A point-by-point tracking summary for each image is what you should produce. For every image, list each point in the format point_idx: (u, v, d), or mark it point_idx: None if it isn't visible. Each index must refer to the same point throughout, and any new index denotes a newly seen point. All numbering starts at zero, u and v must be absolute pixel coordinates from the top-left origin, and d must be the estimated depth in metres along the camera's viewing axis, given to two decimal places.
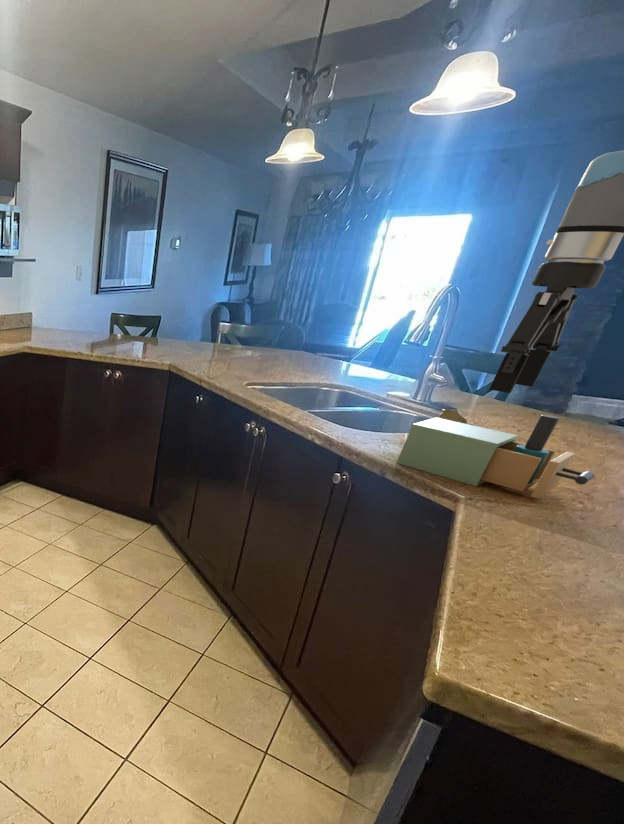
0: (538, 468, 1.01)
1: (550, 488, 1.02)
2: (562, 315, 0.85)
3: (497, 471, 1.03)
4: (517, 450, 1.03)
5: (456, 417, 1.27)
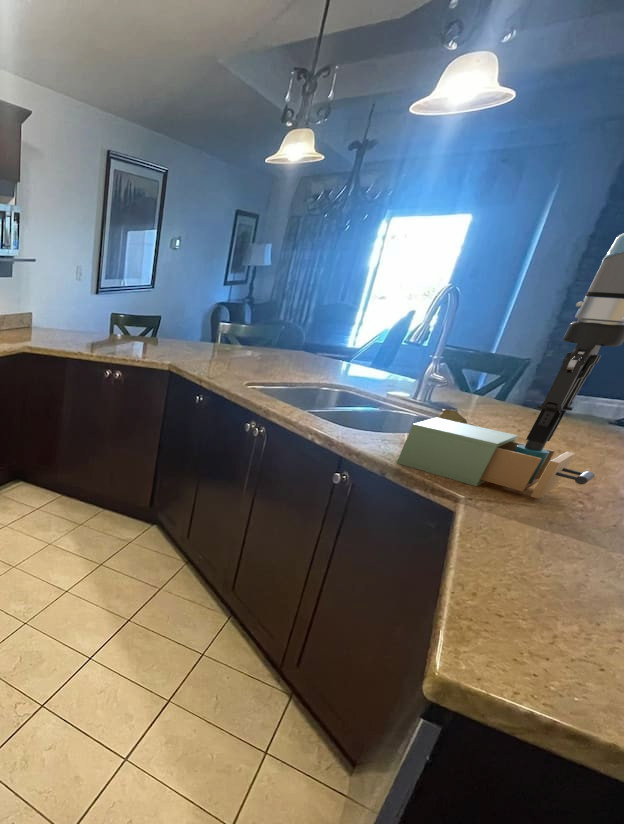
0: (538, 468, 1.01)
1: (550, 488, 1.02)
2: None
3: (497, 471, 1.03)
4: (517, 450, 1.03)
5: (456, 417, 1.27)
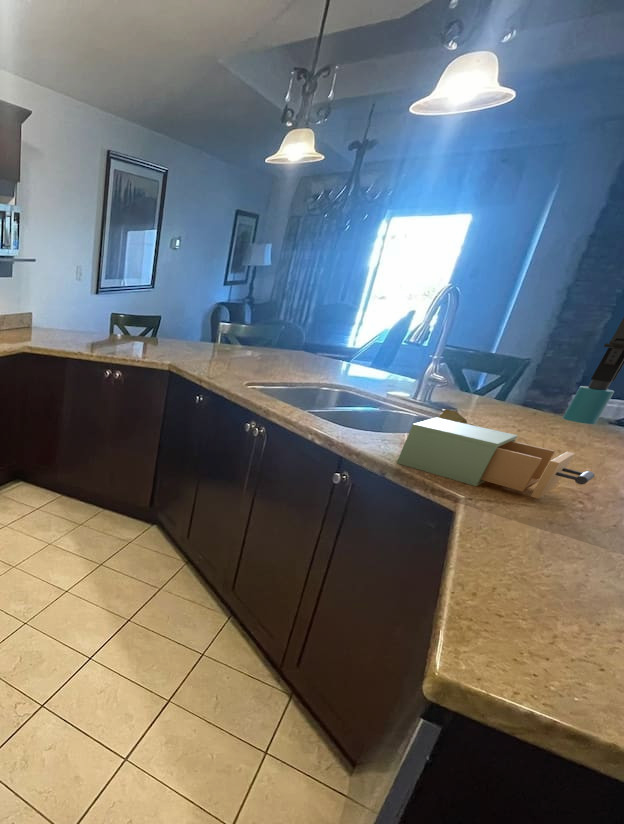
0: (603, 408, 1.02)
1: (550, 488, 1.02)
2: None
3: (497, 471, 1.03)
4: (581, 391, 1.03)
5: (456, 417, 1.27)
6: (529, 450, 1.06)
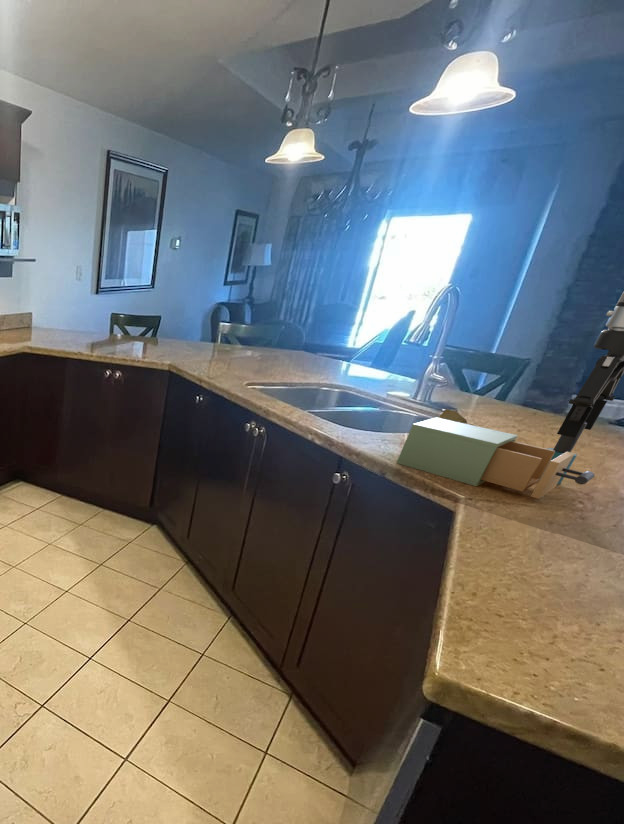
0: None
1: (550, 488, 1.02)
2: (619, 373, 1.01)
3: (497, 471, 1.03)
4: None
5: (456, 417, 1.27)
6: (529, 450, 1.06)
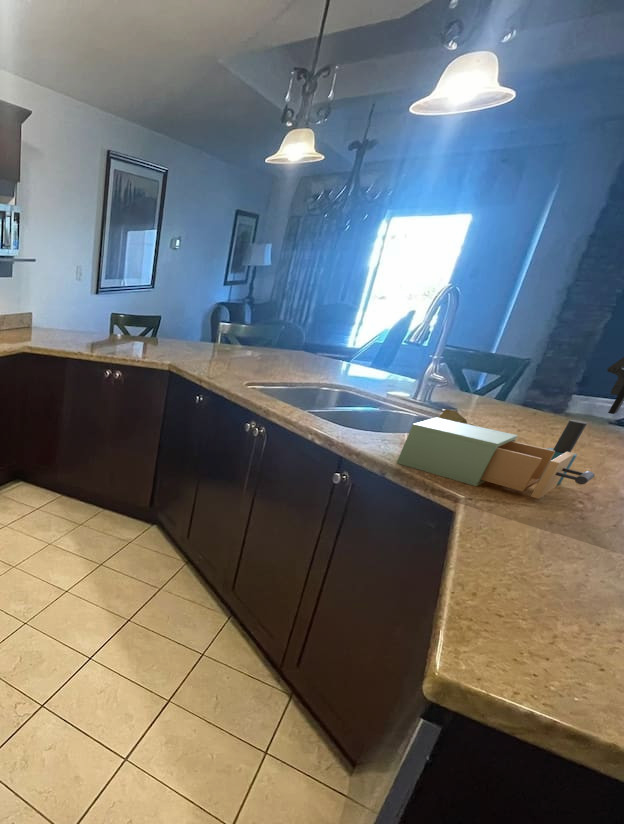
0: None
1: (550, 488, 1.02)
2: None
3: (497, 471, 1.03)
4: None
5: (456, 417, 1.27)
6: (529, 450, 1.06)
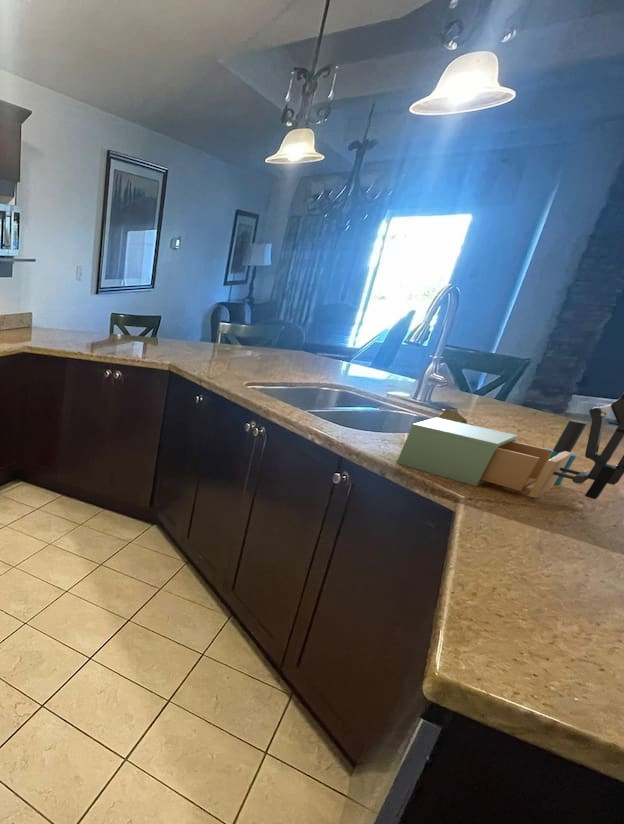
0: None
1: (548, 487, 1.02)
2: None
3: (495, 470, 1.04)
4: None
5: (456, 417, 1.27)
6: (527, 449, 1.06)
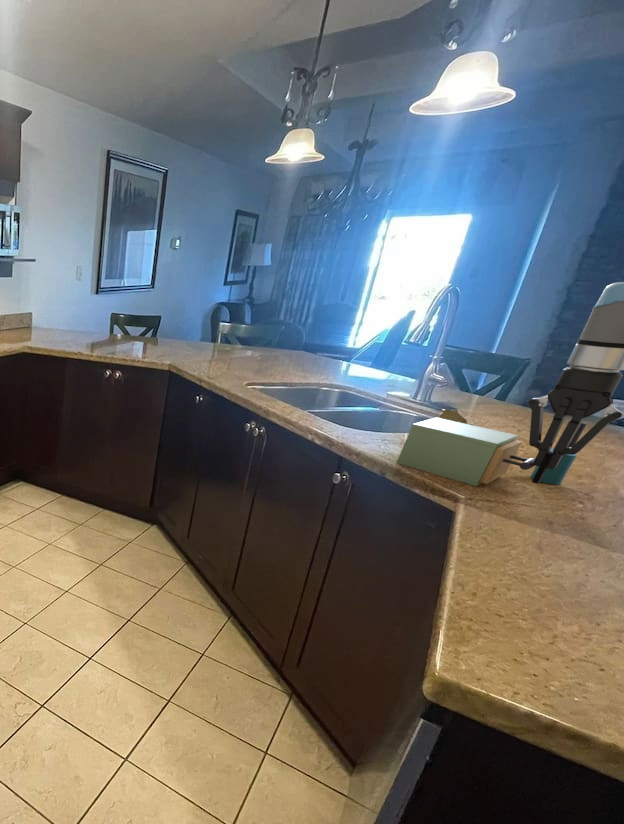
0: (566, 470, 1.08)
1: (499, 474, 1.08)
2: (575, 413, 0.96)
3: None
4: None
5: (456, 417, 1.27)
6: None
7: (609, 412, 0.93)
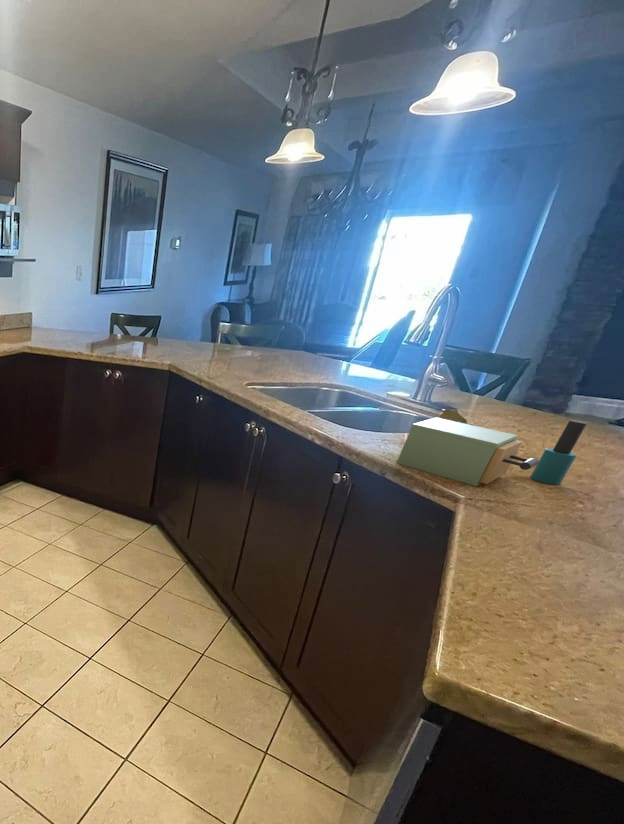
0: (566, 470, 1.08)
1: (499, 474, 1.08)
2: None
3: None
4: (546, 453, 1.09)
5: (456, 417, 1.27)
6: None
7: None
